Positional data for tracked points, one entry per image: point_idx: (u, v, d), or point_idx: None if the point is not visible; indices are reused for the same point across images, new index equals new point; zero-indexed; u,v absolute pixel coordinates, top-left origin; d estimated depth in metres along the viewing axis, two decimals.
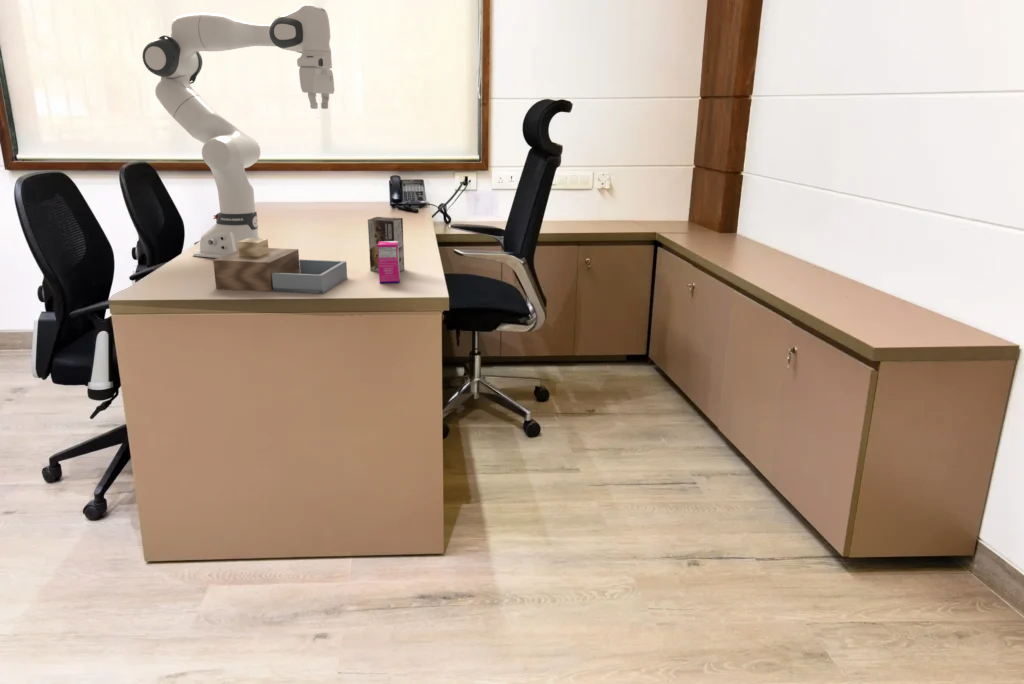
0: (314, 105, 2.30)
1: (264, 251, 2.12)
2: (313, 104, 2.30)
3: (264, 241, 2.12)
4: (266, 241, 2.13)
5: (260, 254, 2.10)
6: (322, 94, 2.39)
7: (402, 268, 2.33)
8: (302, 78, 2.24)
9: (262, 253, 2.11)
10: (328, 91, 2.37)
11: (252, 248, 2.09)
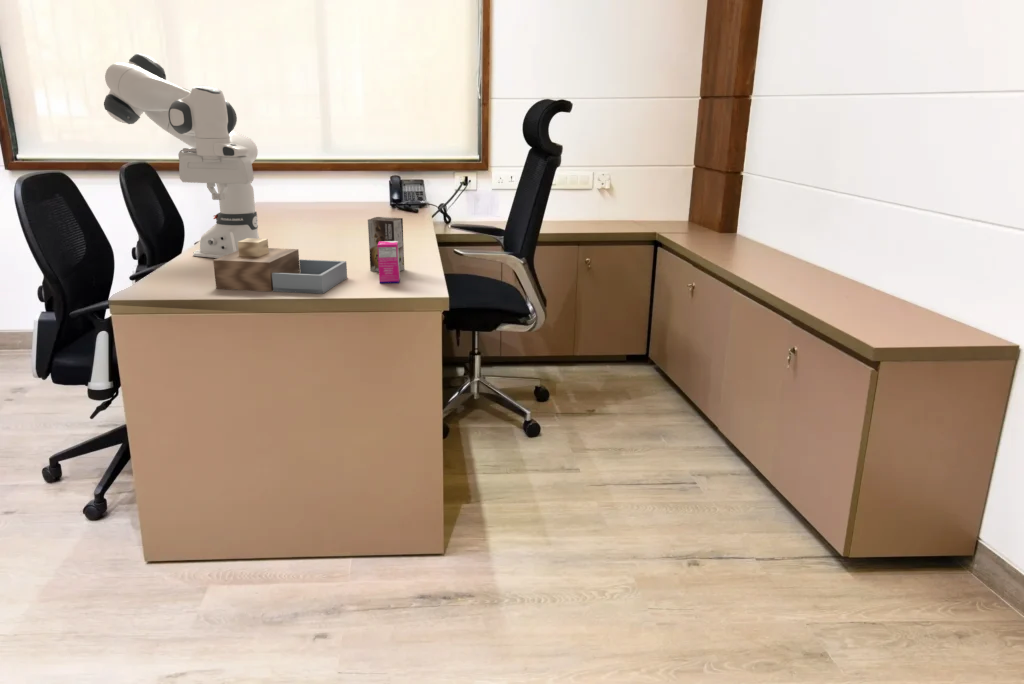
0: (224, 196, 2.09)
1: (264, 251, 2.12)
2: (223, 194, 2.09)
3: (264, 241, 2.12)
4: (266, 241, 2.13)
5: (260, 254, 2.10)
6: (212, 184, 2.07)
7: (402, 268, 2.33)
8: (247, 169, 2.04)
9: (262, 253, 2.11)
10: None
11: (252, 248, 2.09)
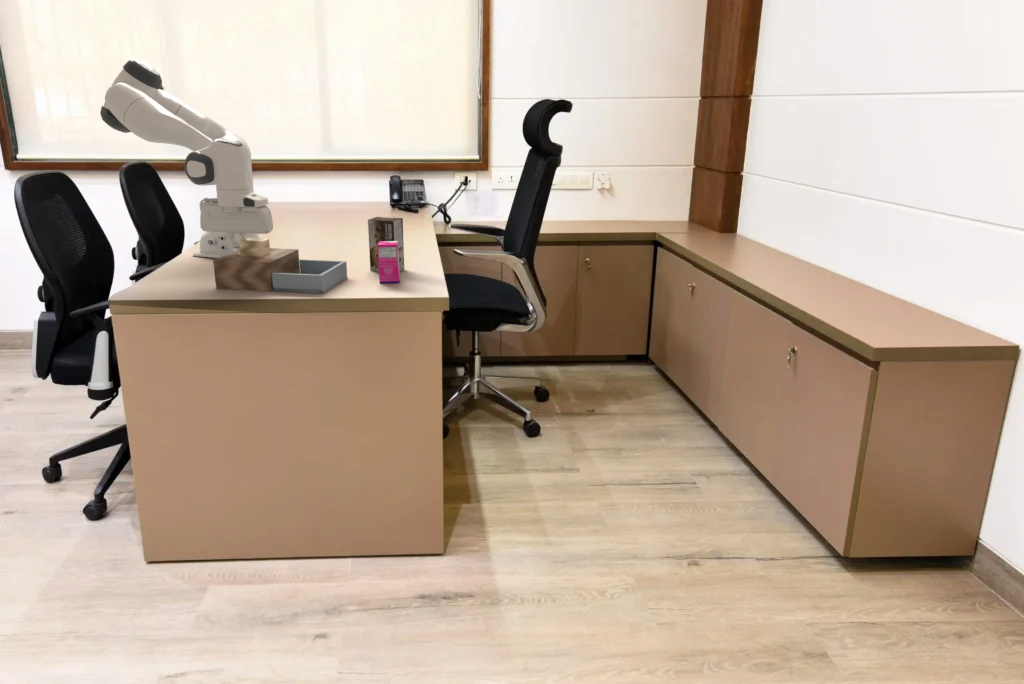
0: None
1: (265, 251, 2.12)
2: None
3: (265, 241, 2.12)
4: (267, 241, 2.13)
5: (261, 254, 2.10)
6: (232, 233, 2.10)
7: (402, 268, 2.33)
8: (267, 219, 2.07)
9: (263, 253, 2.11)
10: None
11: (254, 248, 2.09)
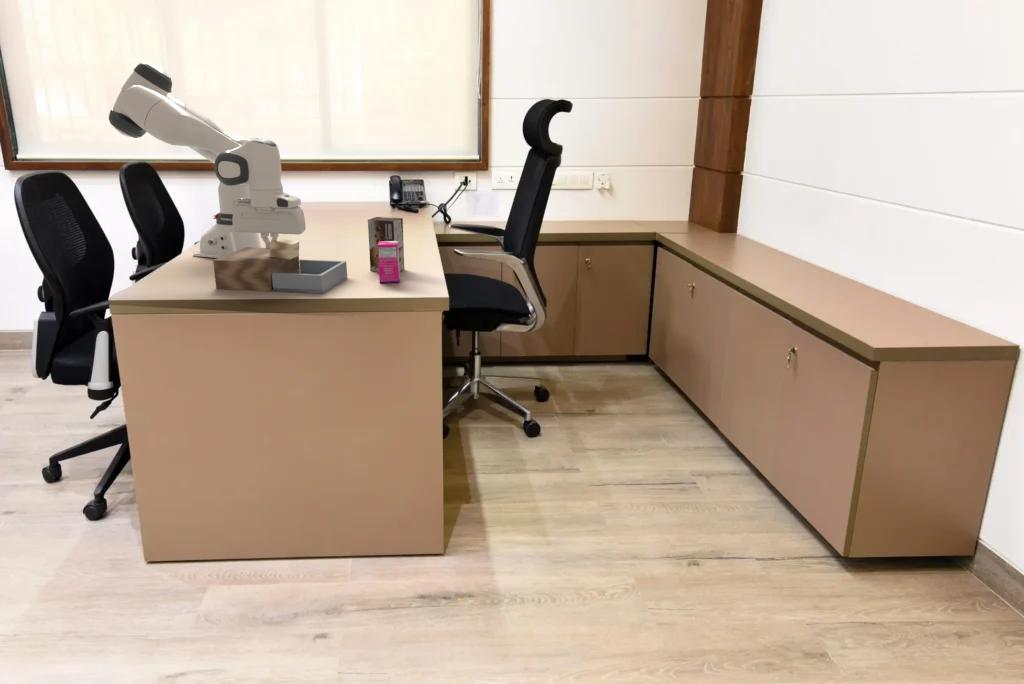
0: None
1: (295, 254, 2.11)
2: None
3: (296, 244, 2.11)
4: (298, 244, 2.12)
5: (291, 257, 2.08)
6: (266, 233, 2.09)
7: (402, 268, 2.33)
8: (300, 220, 2.06)
9: (293, 256, 2.10)
10: None
11: (284, 250, 2.08)
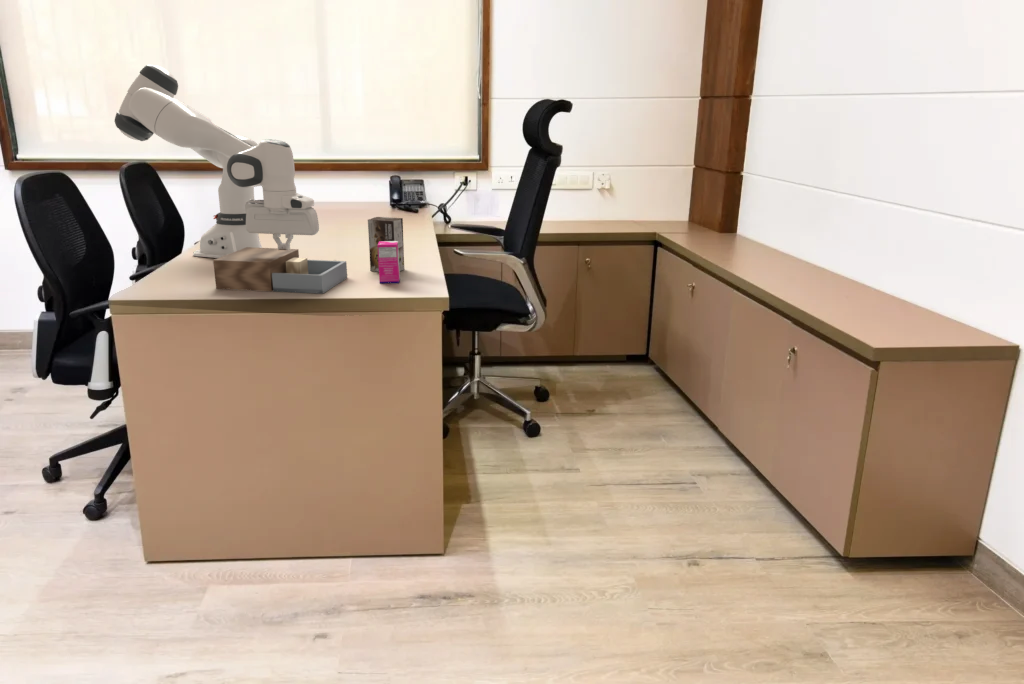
0: (289, 246, 2.11)
1: None
2: (288, 245, 2.11)
3: None
4: None
5: None
6: (278, 234, 2.09)
7: (402, 268, 2.33)
8: (314, 220, 2.06)
9: None
10: None
11: None
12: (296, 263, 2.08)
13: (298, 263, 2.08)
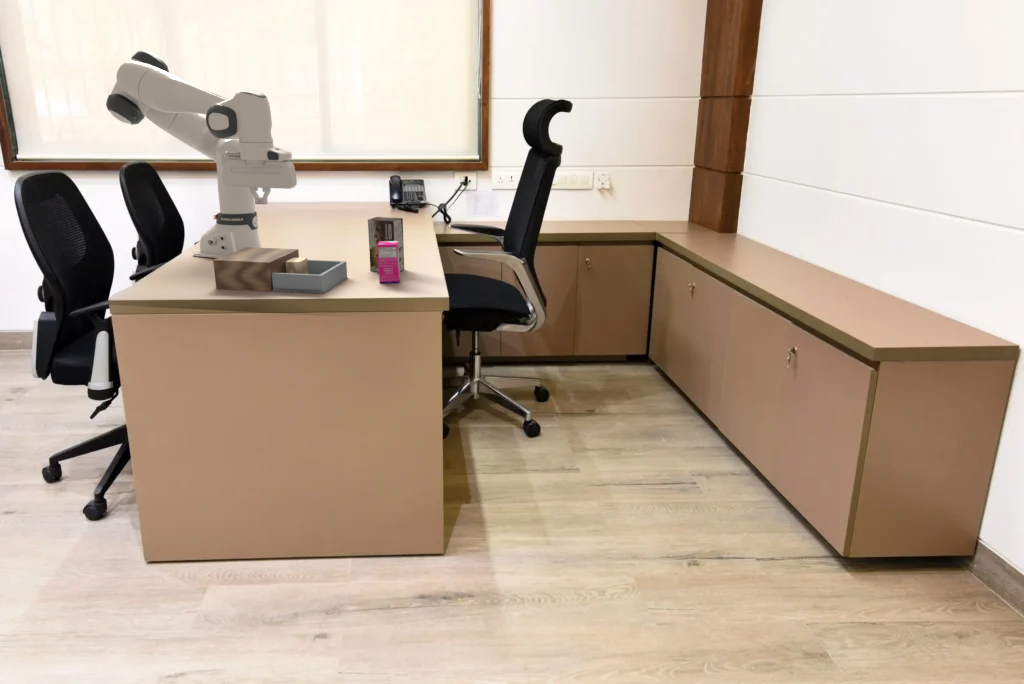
0: (266, 200, 2.08)
1: None
2: (266, 199, 2.08)
3: None
4: None
5: None
6: (254, 188, 2.06)
7: (402, 268, 2.33)
8: (291, 173, 2.03)
9: None
10: None
11: None
12: (296, 263, 2.08)
13: (298, 263, 2.08)
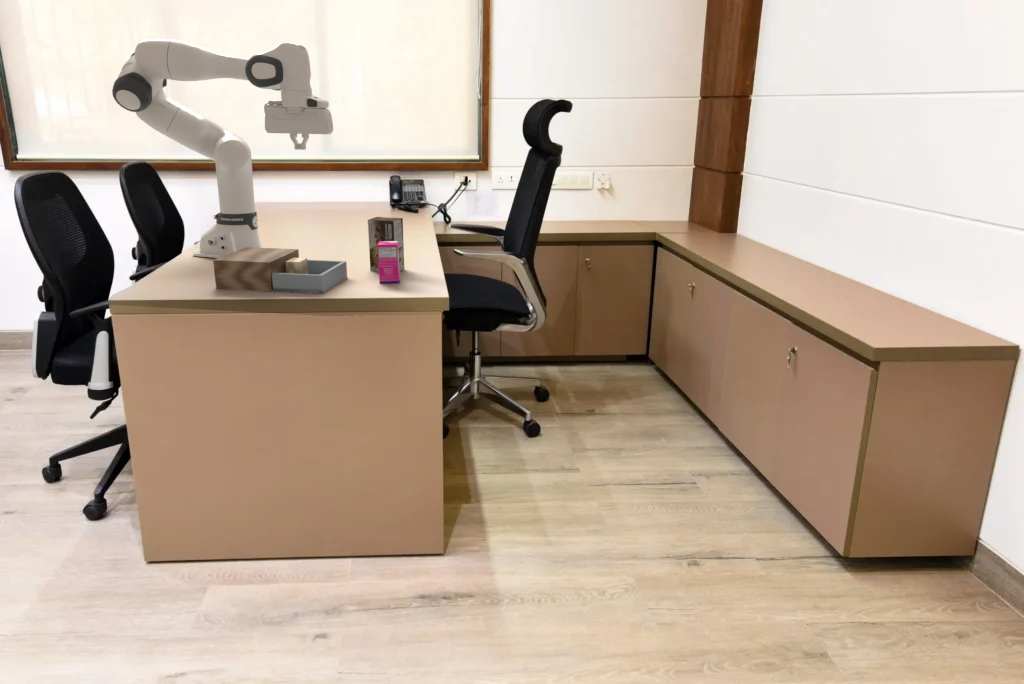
0: (305, 146, 2.25)
1: None
2: (304, 145, 2.24)
3: None
4: None
5: None
6: (294, 134, 2.23)
7: (402, 268, 2.33)
8: (328, 120, 2.20)
9: None
10: None
11: None
12: (296, 263, 2.08)
13: (298, 263, 2.08)
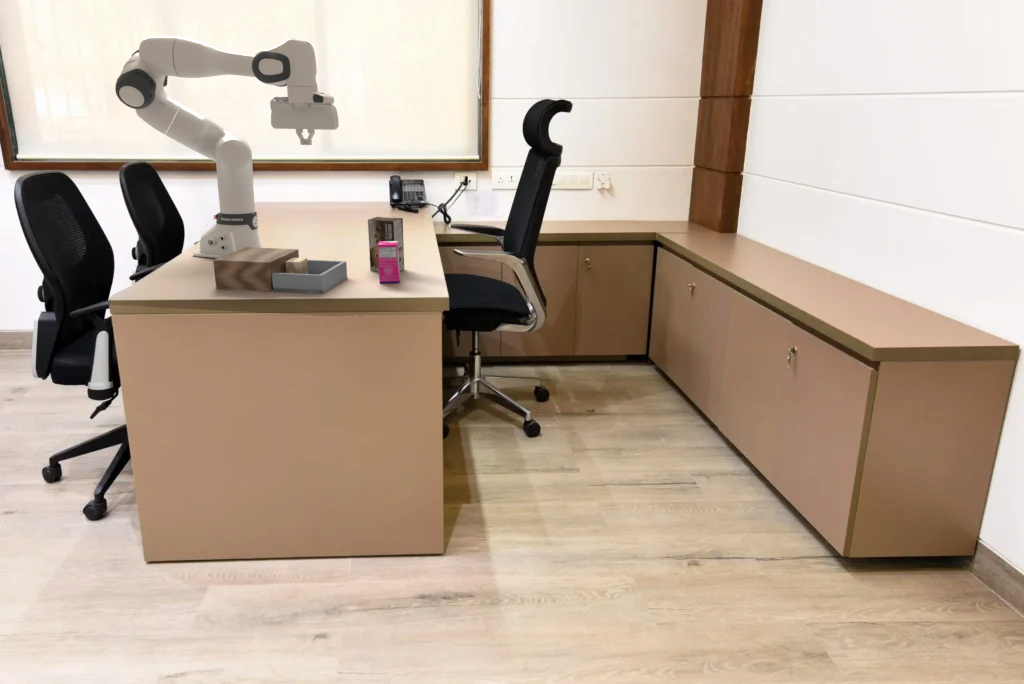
0: (311, 141, 2.27)
1: None
2: (310, 140, 2.27)
3: None
4: None
5: None
6: (300, 130, 2.26)
7: (402, 268, 2.33)
8: (334, 115, 2.23)
9: None
10: None
11: None
12: (296, 263, 2.08)
13: (298, 263, 2.08)
